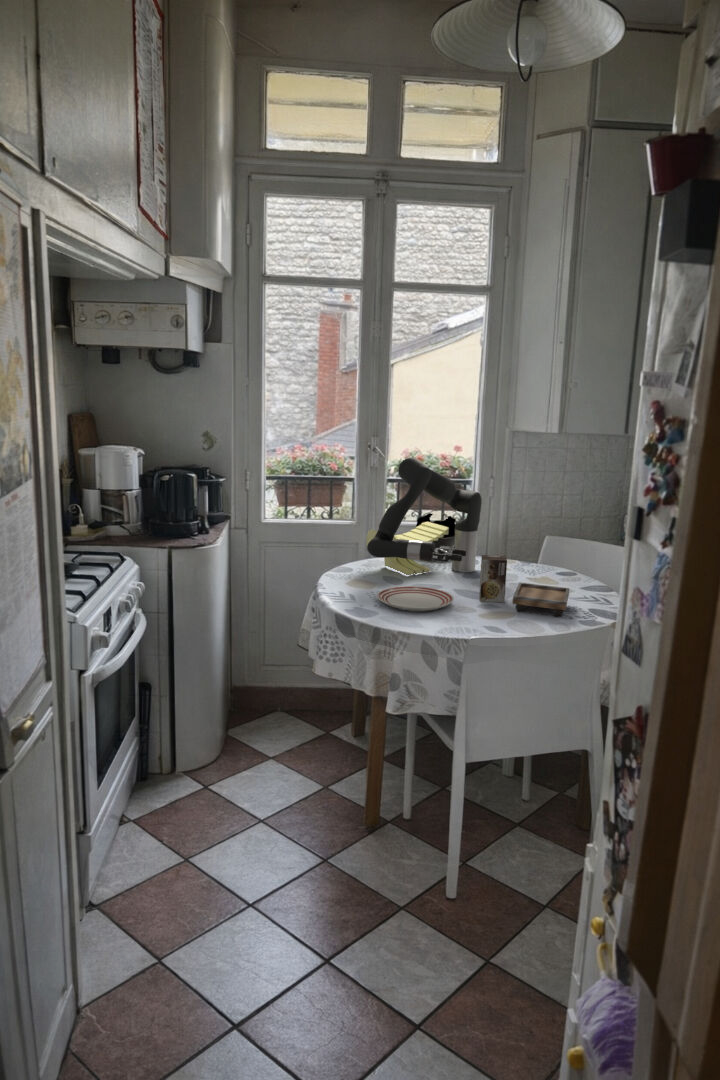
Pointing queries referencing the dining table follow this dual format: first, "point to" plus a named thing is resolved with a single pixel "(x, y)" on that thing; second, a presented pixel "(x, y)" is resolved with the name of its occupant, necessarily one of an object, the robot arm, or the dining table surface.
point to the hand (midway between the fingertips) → (463, 555)
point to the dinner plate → (415, 598)
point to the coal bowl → (446, 539)
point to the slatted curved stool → (421, 533)
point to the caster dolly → (541, 597)
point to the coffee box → (493, 578)
